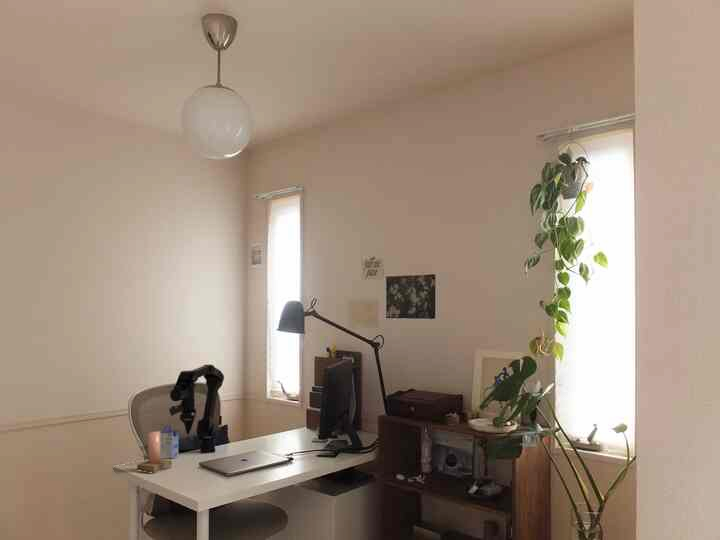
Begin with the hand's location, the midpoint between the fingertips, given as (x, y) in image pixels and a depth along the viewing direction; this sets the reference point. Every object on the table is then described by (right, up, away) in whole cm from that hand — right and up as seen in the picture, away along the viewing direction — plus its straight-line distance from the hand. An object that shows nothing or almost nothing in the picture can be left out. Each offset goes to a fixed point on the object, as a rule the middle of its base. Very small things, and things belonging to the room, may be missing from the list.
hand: (188, 432), depth 258 cm
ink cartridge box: (-13, -14, +7) cm, 20 cm away
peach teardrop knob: (-11, -9, -14) cm, 20 cm away
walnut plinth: (-11, -12, -14) cm, 22 cm away
